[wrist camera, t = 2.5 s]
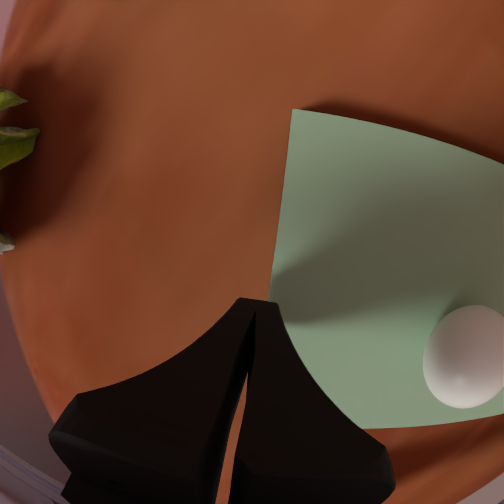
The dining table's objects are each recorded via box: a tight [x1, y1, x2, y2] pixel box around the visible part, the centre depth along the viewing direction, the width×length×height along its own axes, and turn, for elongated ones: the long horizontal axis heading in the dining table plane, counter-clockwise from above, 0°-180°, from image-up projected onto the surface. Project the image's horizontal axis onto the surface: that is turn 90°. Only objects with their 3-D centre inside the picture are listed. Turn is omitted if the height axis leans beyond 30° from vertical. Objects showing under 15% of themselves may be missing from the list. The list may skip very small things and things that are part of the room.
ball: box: [423, 305, 504, 409], centre depth 9 cm, size 4×4×4 cm
